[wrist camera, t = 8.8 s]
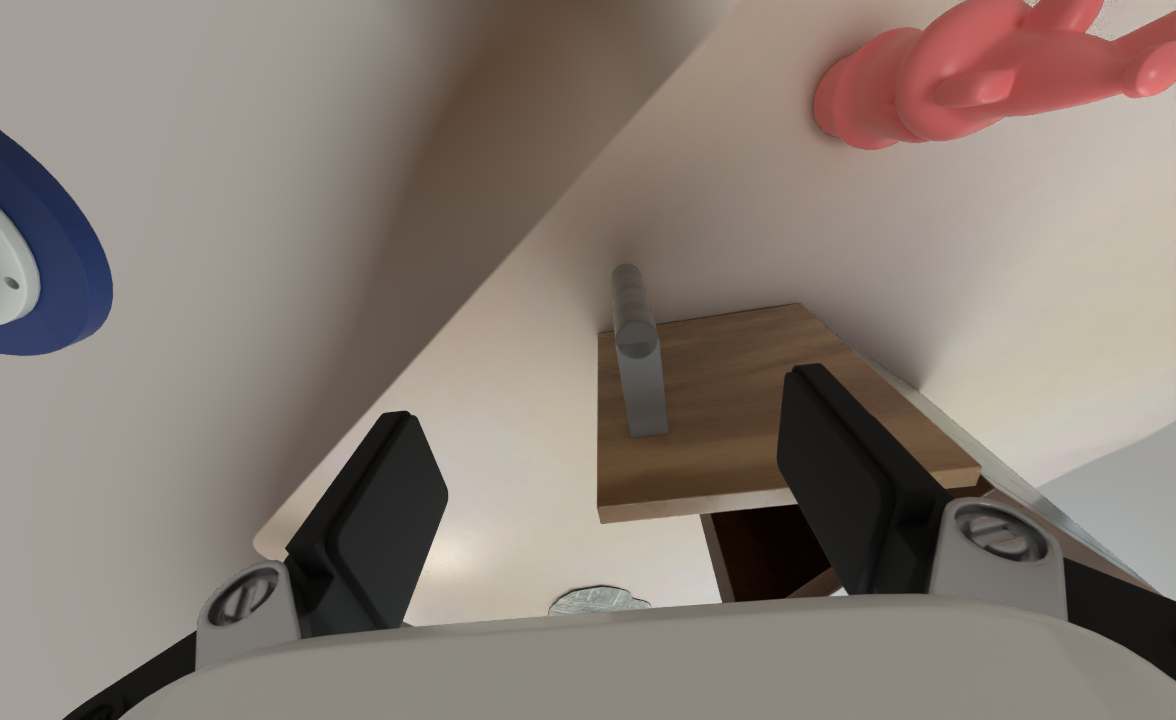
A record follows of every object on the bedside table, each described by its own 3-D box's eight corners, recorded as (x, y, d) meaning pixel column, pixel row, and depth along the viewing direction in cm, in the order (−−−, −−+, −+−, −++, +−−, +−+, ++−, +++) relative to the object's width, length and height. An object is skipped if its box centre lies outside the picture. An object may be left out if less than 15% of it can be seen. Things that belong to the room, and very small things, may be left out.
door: (582, 252, 27) (566, 381, 14) (806, 214, 26) (1039, 315, 12) (600, 345, 31) (600, 524, 17) (799, 316, 29) (976, 486, 15)
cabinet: (681, 444, 35) (735, 655, 21) (806, 314, 29) (996, 487, 15) (786, 500, 38) (894, 718, 24) (920, 392, 32) (1166, 598, 18)
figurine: (873, 8, 21) (1319, -181, 8) (919, 93, 23) (1348, 52, 10) (784, 94, 23) (1028, 53, 10) (832, 166, 25) (1095, 214, 12)
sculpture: (664, 637, 50) (624, 703, 46) (606, 594, 56) (567, 650, 52) (643, 583, 44) (595, 655, 40) (580, 542, 50) (533, 600, 46)
